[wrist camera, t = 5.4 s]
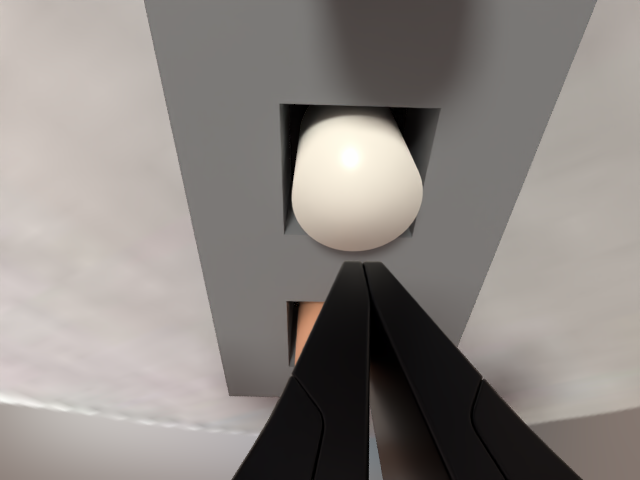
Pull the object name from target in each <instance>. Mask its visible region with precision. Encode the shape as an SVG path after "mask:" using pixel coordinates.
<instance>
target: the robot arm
mask: <svg viewBox="0 0 640 480" xmlns="http://www.w3.org/2000/svg"><path fill="white" fill-rule="evenodd" d="M369 406H370V408H371V414H372V419H373V425H374V431H375V436H376V442H377V448H378V453H379V459H380V464H381V470H382V476H383V480H583V479H581V478H580V477H579V476H578V475H577V474H576V473H575V472H574V471H573V470H572V469H571V468H570V467H569V466H568V465H567V464H566V463H565V462H564V461H563V460H562V459H561V458H560V457H559V456H557V455H556V454H555V453H554V452H553V451H552V450H551V449H550V448H549V447H548V446H547V445H546V444H545V443H544V442H543V441H542V440H541V439H540V438H539V437H538V436H537V435H536V434H535V433H534V432H533V431H532V430H531V429H530V428H529V427H528V426H527V425H526V424H525V423H524V422H523V421H522V419H521V418H520V417H519V416H518V415H517V414H516V413H515V412H514V411H513V410H512V409H511V408H510V406H509V405H508V404H507V403H506V402H505V401H504V400H503V399H502V398H501V397H500V396H499V394H498V393H497V392H496V391H495V390H494V389H493V388H492V386H491V385H490V384H489V383H488V382H487V381H486V380H485V379H483V380H482V375H481V374H480V373H479V372H478V371H477V370H476V368H475V367H474V366H473V365H472V364H471V363H470V362H469V361H468V359H467V358H466V357H465V356H464V355H463V354H462V353H461V351H460V350H459V349H458V348H457V347H456V346H455V345H454V343H453V342H452V341H451V340H450V339H449V338H448V337H447V335H446V334H445V333H444V332H443V331H442V330H441V329H440V327H439V326H438V325H437V324H436V323H435V322H434V321H433V320H432V318H431V317H430V316H429V315H428V314H427V313H426V312H425V310H424V309H423V308H422V307H421V306H420V305H419V304H418V302H417V301H416V300H415V299H414V298H413V297H412V296H411V294H410V293H409V292H408V291H407V290H406V289H405V288H404V287H403V285H402V284H401V283H400V282H399V281H398V280H397V279H396V277H395V276H394V275H393V274H392V273H391V272H390V271H389V269H388V268H387V267H386V266H385V265H384V264H383V263H382V262H380V261H364V262H363V263H362V262H361V261H348V260H346V261H344V262H343V263H342V266H341V268H340V270H339V272H338V274H337V276H336V278H335V281H334V283H333V285H332V287H331V289H330V291H329V293H328V296H327V298H326V300H325V302H324V304H323V306H322V309H321V311H320V313H319V315H318V317H317V319H316V321H315V324H314V326H313V328H312V330H311V332H310V334H309V337H308V339H307V341H306V343H305V345H304V347H303V349H302V352H301V354H300V356H299V358H298V360H297V362H296V364H295V367H294V369H293V371H292V373H291V376H290V377H289V379H288V381H287V383H286V385H285V388H284V390H283V392H282V394H281V396H280V398H279V400H278V402H277V404H276V406H275V408H274V410H273V412H272V414H271V415H270V417H269V419H268V421H267V423H266V424H265V426H264V428H263V430H262V431H261V433H260V435H259V436H258V438H257V440H256V441H255V443H254V445H253V447H252V448H251V450H250V451H249V453H248V455H247V456H246V458H245V459H244V461H243V462H242V464H241V465H240V467H239V469H238V470H237V472H236V473H235V475H234V476H233V478H232V480H369Z"/></svg>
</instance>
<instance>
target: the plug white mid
mask: <svg viewBox="0 0 640 480" xmlns="http://www.w3.org/2000/svg"><path fill="white" fill-rule="evenodd" d="M422 196H423V186H422V180H421V177H420V174H419V171H418V169H417V167H416V165H415V163H414V160H413V158H412V156H411V154H410V152H409V149H408V147H407V145H406V143H405V141H404V139H403V136H402V134H401V132H400V130H399V128H398V125H397V123H396V121H395V119H394V117H393V115H392V112H391V110H390V108H389V107H378V106H345V105H312V104H310V106H309V107H308V109H307V110H306V112H305V114H304V116H303V118H302V121H301V126H300V132H299V140H298V148H297V156H296V164H295V172H294V180H293V188H292V207H293V211H294V214H295V216H296V219H297V221H298V223H299V224H300V226H301V227H302V228H303V230H304V231H305V232H306V233H307V234H308V235H309V236H310V237H312V238H313V239H314V240H316V241H317V242H319V243H321V244H323V245H325V246H327V247H330V248H333V249H337V250H343V251H364V250H370V249H374V248H377V247H380V246H383V245H385V244H387V243H389V242H391V241H392V240H394V239H396V238H397V237H398V236H400V235H401V234H402V233H403V232H404V231H405V230H406V229H407V228H408V227H409V226H410V225H411V224H412V222H413V221H414V219H415V218H416V216H417V214H418V212H419V209H420V206H421V203H422Z"/></svg>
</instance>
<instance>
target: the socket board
mask: <svg viewBox="0 0 640 480" xmlns="http://www.w3.org/2000/svg"><path fill="white" fill-rule="evenodd" d="M596 2H597V0H144V3H145V8H146V13H147V17H148V22H149V26H150V31H151V36H152V40H153V45H154V50H155V54H156V59H157V63H158V68H159V73H160V77H161V82H162V87H163V91H164V96H165V101H166V105H167V110H168V114H169V119H170V124H171V128H172V133H173V138H174V142H175V147H176V151H177V156H178V161H179V165H180V170H181V175H182V179H183V184H184V188H185V193H186V198H187V202H188V207H189V212H190V216H191V221H192V225H193V230H194V235H195V239H196V244H197V249H198V253H199V258H200V262H201V267H202V272H203V276H204V281H205V286H206V290H207V295H208V299H209V304H210V309H211V313H212V318H213V323H214V327H215V332H216V336H217V341H218V346H219V350H220V355H221V360H222V364H223V369H224V374H225V378H226V383H227V387H228V392H229V396H256V397H280V396H281V394H282V392H283V390H284V388H285V385H286V383H287V381H288V379H289V377H290V376H291V373H292V371H293V369H294V367H295V353H296V338H297V323H298V307H299V306H294V301H307V302H325V300H326V298H327V296H328V293H329V291H330V289H331V287H332V285H333V283H334V281H335V278H336V276H337V274H338V272H339V270H340V268H341V266H342V263H343V262H344V261H346V260H348V261H361V262H362V263H363V262H364V261H380V262H382V263H383V264H384V265H385V266H386V267H387V268H388V269H389V271H390V272H391V273H392V274H393V275H394V276H395V277H396V279H397V280H398V281H399V282H400V283H401V284H402V285H403V287H404V288H405V289H406V290H407V291H408V292H409V293H410V294H411V296H412V297H413V298H414V299H415V300H416V301H417V302H418V304H419V305H420V306H421V307H422V308H423V309H424V310H425V312H426V313H427V314H428V315H429V316H430V317H431V318H432V320H433V321H434V322H435V323H436V324H437V325H438V326H439V327H440V329H441V330H442V331H443V332H444V333H445V334H446V335H447V337H448V338H449V339H450V340H451V341H452V342H453V343H454V345H455V346H456V347H458V344H459V342H460V339H461V337H462V334H463V332H464V329H465V327H466V324H467V322H468V319H469V317H470V314H471V312H472V309H473V307H474V304H475V302H476V300H477V297H478V295H479V292H480V290H481V287H482V285H483V282H484V280H485V277H486V275H487V272H488V270H489V267H490V265H491V262H492V260H493V257H494V255H495V252H496V250H497V247H498V245H499V242H500V240H501V238H502V235H503V233H504V230H505V228H506V225H507V223H508V220H509V218H510V215H511V213H512V210H513V208H514V205H515V203H516V200H517V198H518V195H519V193H520V190H521V188H522V185H523V183H524V180H525V178H526V176H527V173H528V171H529V168H530V166H531V163H532V161H533V158H534V156H535V153H536V151H537V148H538V146H539V143H540V141H541V138H542V136H543V133H544V131H545V128H546V126H547V123H548V121H549V118H550V116H551V114H552V111H553V109H554V106H555V104H556V101H557V99H558V96H559V94H560V91H561V89H562V86H563V84H564V81H565V79H566V76H567V74H568V71H569V69H570V66H571V64H572V61H573V59H574V57H575V54H576V52H577V49H578V47H579V44H580V42H581V39H582V37H583V34H584V32H585V29H586V27H587V24H588V22H589V19H590V17H591V14H592V12H593V9H594V7H595V4H596ZM290 104H312V105H345V106H378V107H408V108H407V114H406V120H405V126H404V131H403V139H404V141H405V143H406V145H407V147H408V149H409V152H410V154H411V156H412V158H413V160H414V163H415V165H416V167H417V169H418V171H419V174H420V177H421V180H422V186H423V196H422V203H421V206H420V209H419V212H418V214H417V216H416V218H415V219H414V221H413V222H412V224H411V225H410V226H409V227H408V228H407V229H406V230H405V231H404V232H403V233H402V234H401V235H400V236H398V237H397V238H396V239H394V240H392V241H391V242H389V243H387V244H385V245H383V246H380V247H377V248H374V249H370V250H364V251H343V250H337V249H333V248H330V247H327V246H325V245H323V244H321V243H319V242H317V241H316V240H314V239H313V238H312V237H310V236H309V235H308V234H307V233H306V232H305V231H304V230H303V228H302V227H301V226H300V224H299V223H298V221H297V219H296V216H295V214H294V211H293V207H292V188H293V181H291V147H290Z"/></svg>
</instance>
